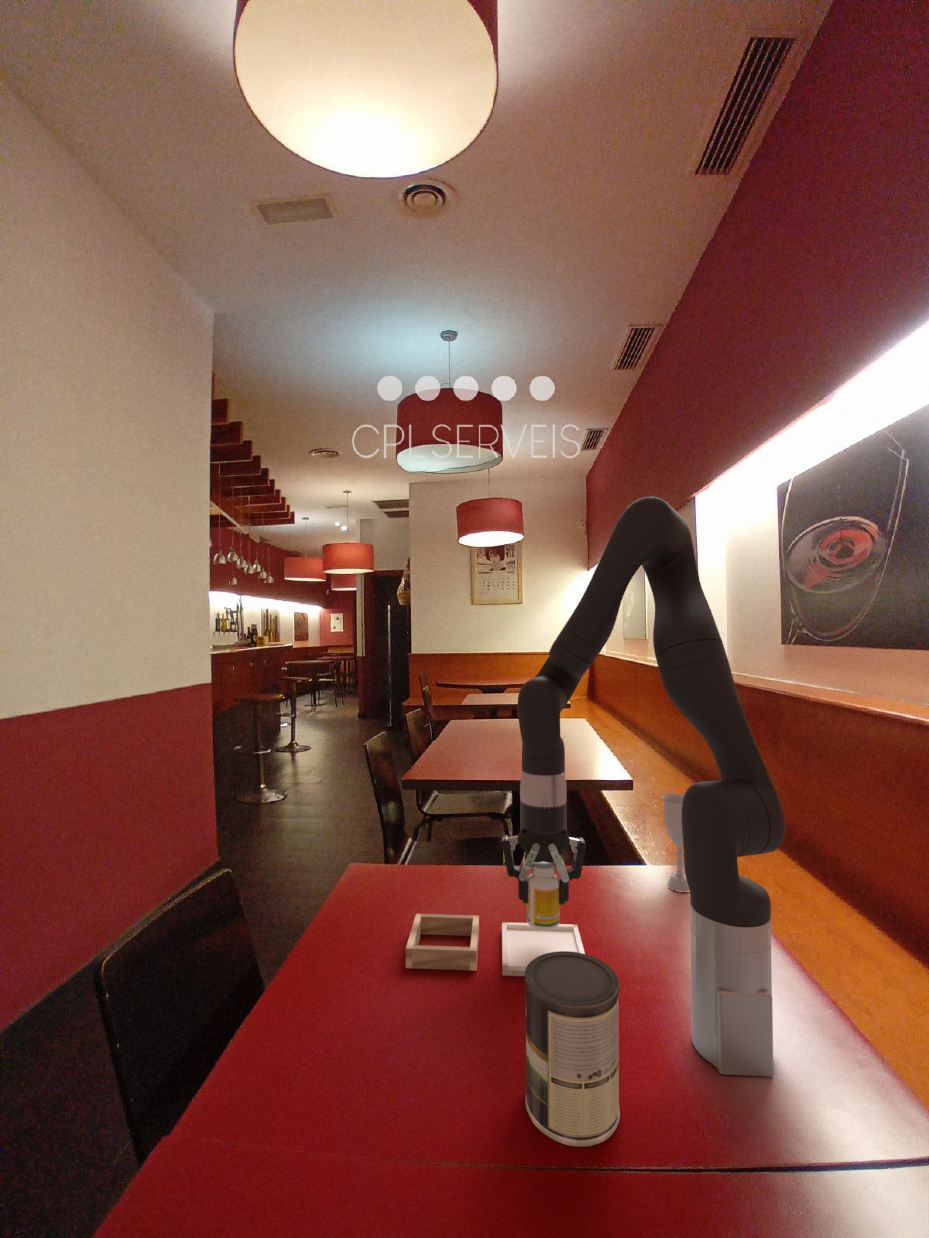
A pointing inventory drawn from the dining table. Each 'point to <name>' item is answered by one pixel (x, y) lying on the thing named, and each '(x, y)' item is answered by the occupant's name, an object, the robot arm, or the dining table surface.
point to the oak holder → (443, 954)
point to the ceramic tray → (534, 944)
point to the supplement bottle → (543, 896)
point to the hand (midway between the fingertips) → (543, 901)
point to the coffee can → (572, 1047)
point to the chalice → (675, 837)
